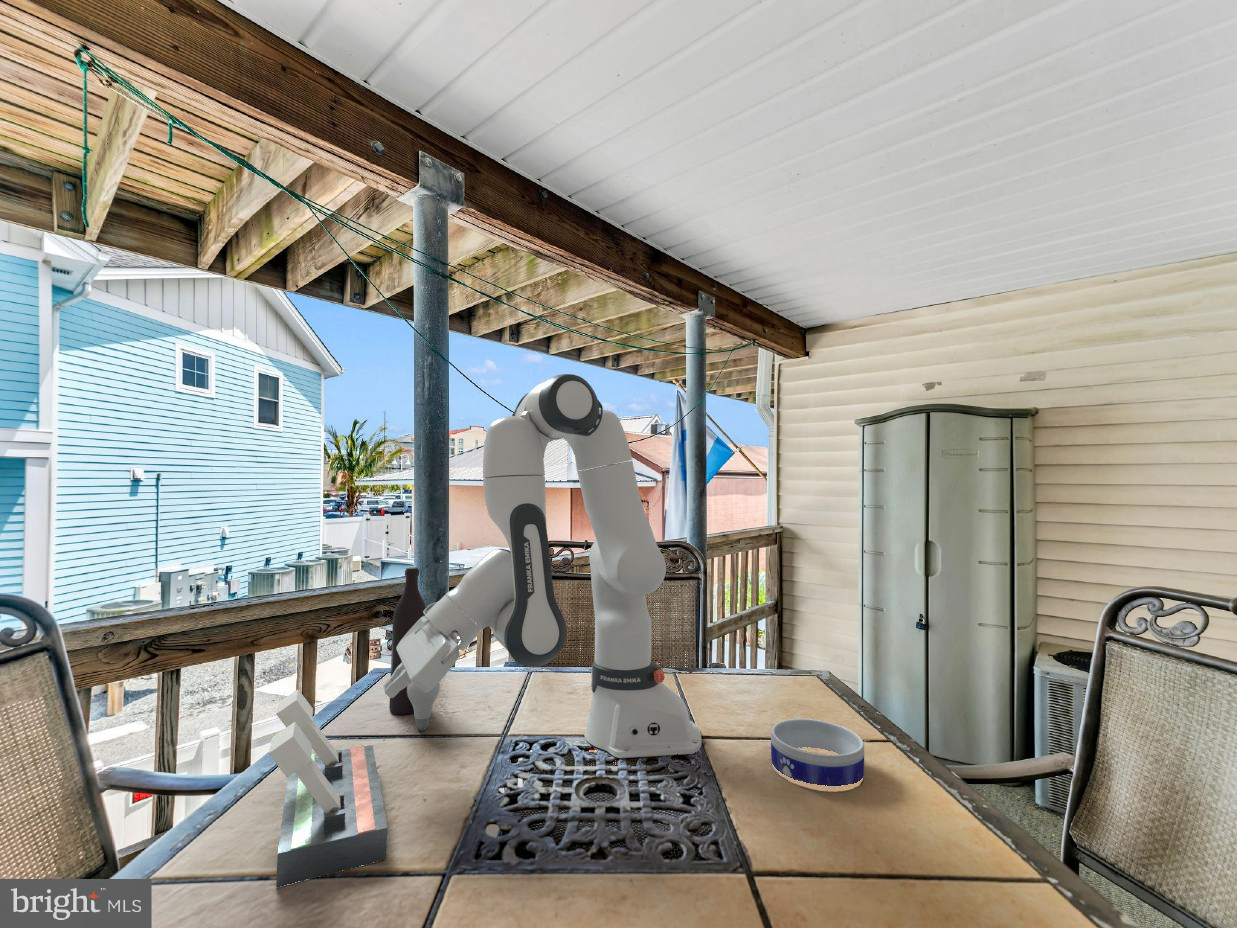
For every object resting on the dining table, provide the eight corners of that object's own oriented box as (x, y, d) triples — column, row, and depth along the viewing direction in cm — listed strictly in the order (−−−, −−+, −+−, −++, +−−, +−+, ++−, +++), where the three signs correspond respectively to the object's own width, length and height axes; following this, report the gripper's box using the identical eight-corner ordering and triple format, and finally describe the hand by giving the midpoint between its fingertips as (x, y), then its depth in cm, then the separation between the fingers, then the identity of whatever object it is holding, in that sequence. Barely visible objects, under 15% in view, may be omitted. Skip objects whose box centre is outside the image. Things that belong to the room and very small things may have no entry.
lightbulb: (443, 724, 113) (445, 668, 114) (430, 737, 107) (432, 678, 108) (414, 722, 114) (416, 667, 115) (399, 735, 108) (401, 677, 109)
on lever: (347, 793, 78) (295, 721, 75) (348, 812, 73) (293, 736, 71) (326, 809, 76) (272, 737, 74) (326, 829, 72) (268, 753, 69)
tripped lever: (344, 750, 90) (298, 689, 88) (345, 764, 86) (296, 699, 83) (326, 764, 89) (278, 702, 86) (326, 779, 84) (275, 714, 82)
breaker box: (371, 769, 95) (373, 736, 95) (386, 860, 72) (387, 816, 72) (289, 784, 90) (290, 749, 90) (275, 888, 66) (278, 841, 67)
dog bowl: (754, 770, 98) (754, 734, 98) (794, 742, 109) (794, 710, 109) (843, 805, 87) (843, 765, 87) (877, 770, 98) (877, 735, 99)
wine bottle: (415, 700, 126) (420, 565, 127) (430, 709, 121) (435, 568, 122) (383, 708, 121) (389, 567, 122) (397, 718, 116) (403, 571, 117)
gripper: (479, 653, 88) (410, 729, 83) (452, 624, 106) (394, 685, 101) (450, 627, 86) (378, 703, 81) (428, 602, 104) (367, 663, 99)
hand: (386, 692), depth 91 cm, fingers closed
